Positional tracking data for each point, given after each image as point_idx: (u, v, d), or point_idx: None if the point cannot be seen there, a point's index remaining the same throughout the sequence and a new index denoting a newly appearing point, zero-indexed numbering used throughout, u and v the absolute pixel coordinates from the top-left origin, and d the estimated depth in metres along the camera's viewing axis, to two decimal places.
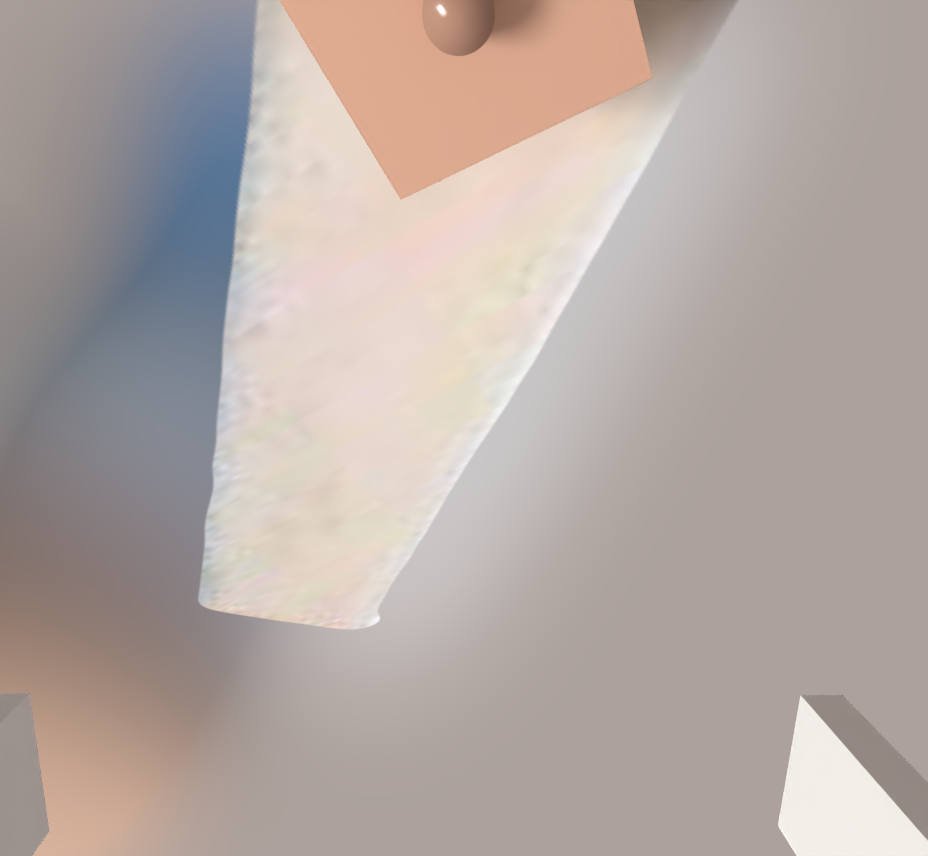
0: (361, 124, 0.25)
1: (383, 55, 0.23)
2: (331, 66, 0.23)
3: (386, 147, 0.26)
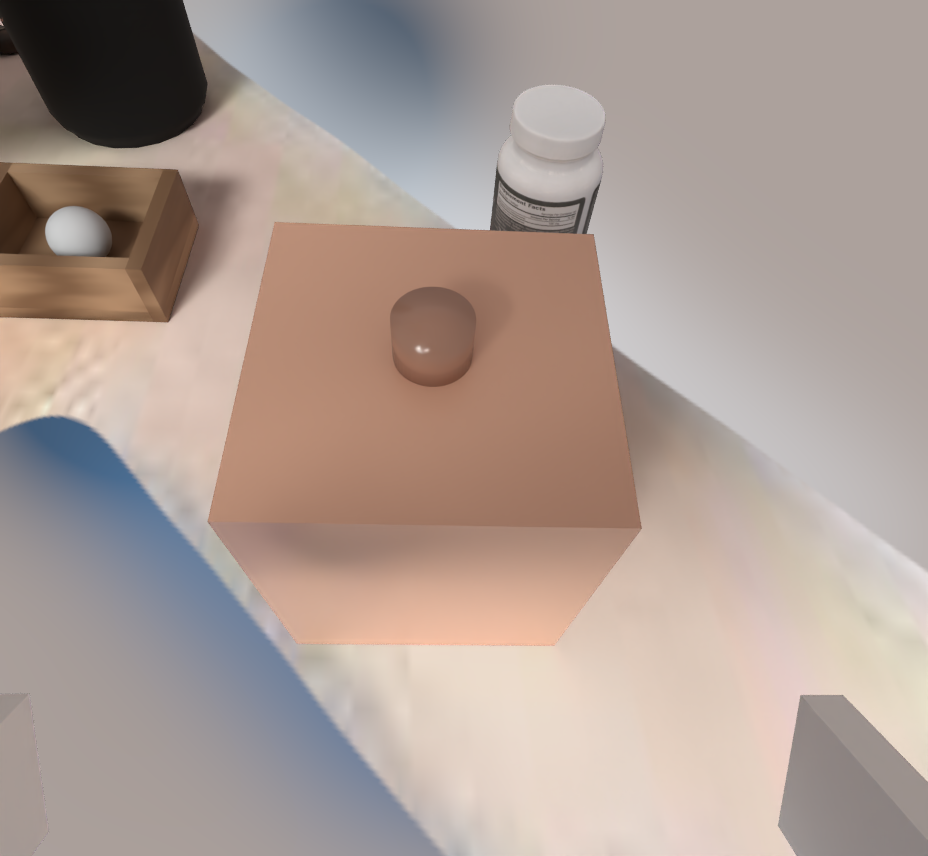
0: (508, 518, 0.16)
1: (441, 447, 0.17)
2: (419, 511, 0.16)
3: (553, 505, 0.17)
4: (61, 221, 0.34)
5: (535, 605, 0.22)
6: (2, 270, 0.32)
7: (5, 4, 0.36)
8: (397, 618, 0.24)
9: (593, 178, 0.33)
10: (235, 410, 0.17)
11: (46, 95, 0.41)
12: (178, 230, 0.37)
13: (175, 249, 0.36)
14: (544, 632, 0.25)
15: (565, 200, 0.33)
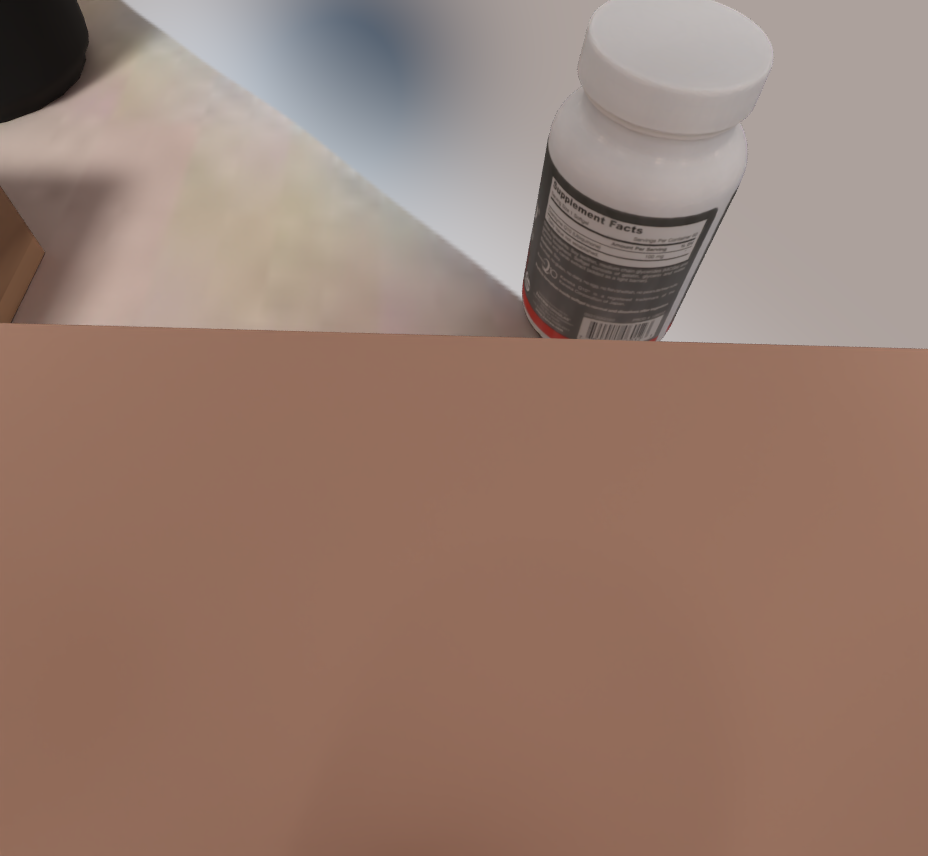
0: None
1: None
2: None
3: None
4: None
5: None
6: None
7: None
8: None
9: (736, 171, 0.17)
10: None
11: None
12: None
13: None
14: None
15: (683, 214, 0.17)
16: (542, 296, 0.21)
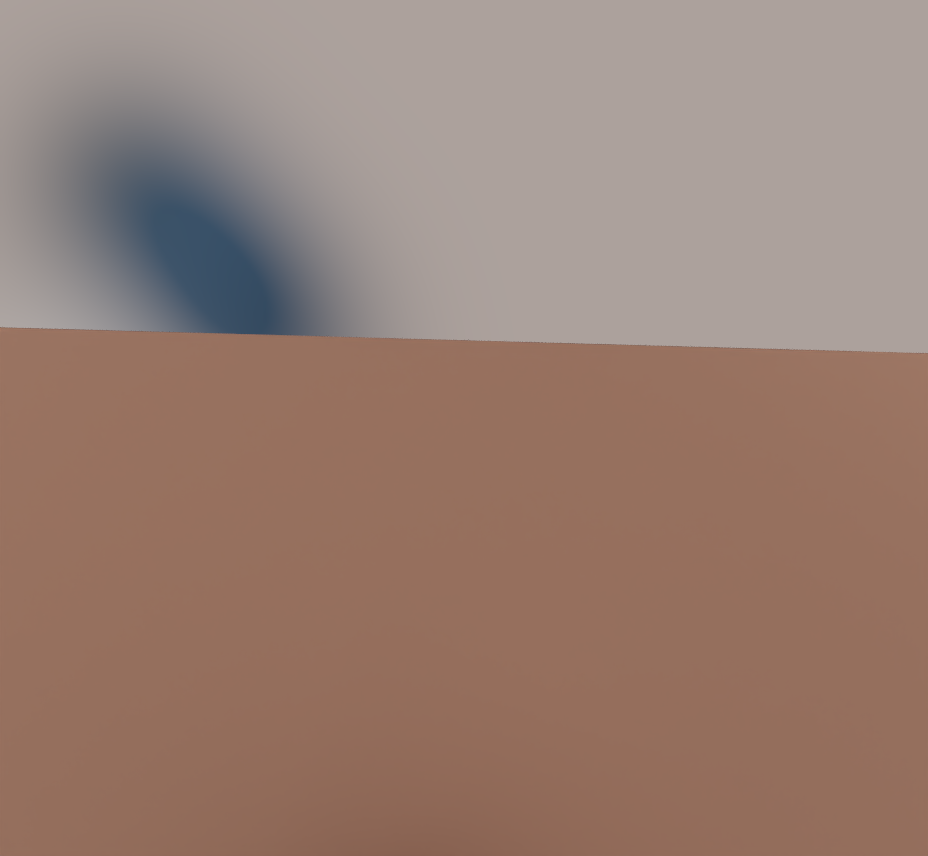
0: None
1: None
2: None
3: None
4: None
5: None
6: None
7: None
8: None
9: None
10: None
11: None
12: None
13: None
14: None
15: None
16: None
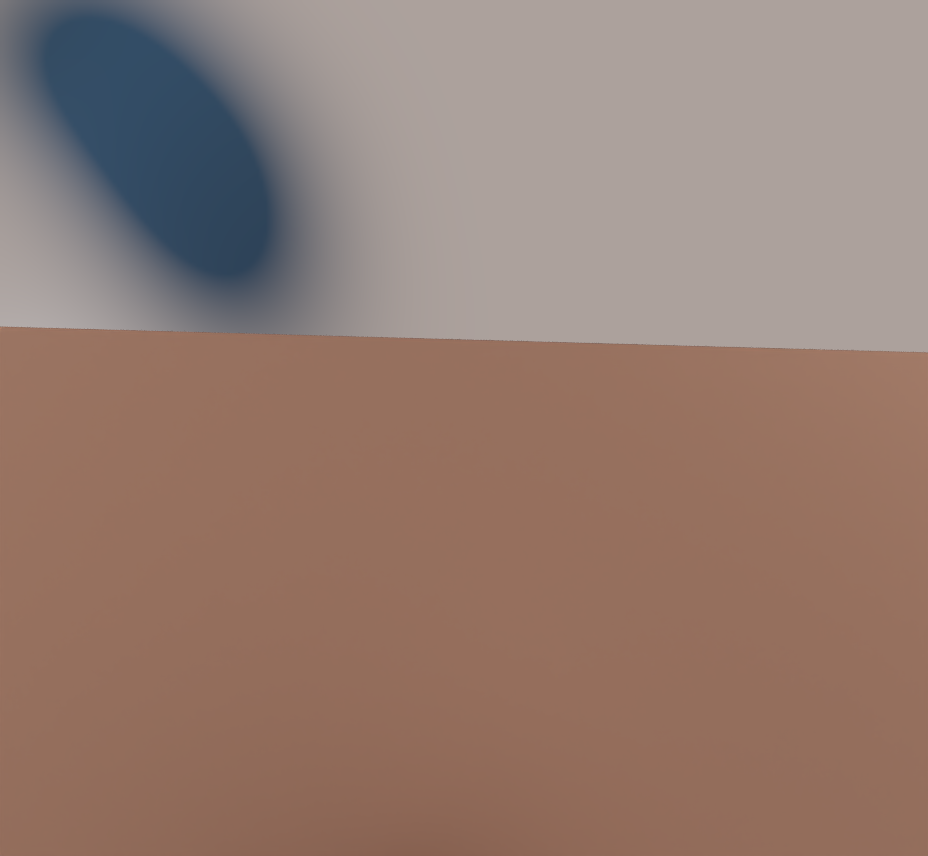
0: None
1: None
2: None
3: None
4: None
5: None
6: None
7: None
8: None
9: None
10: None
11: None
12: None
13: None
14: None
15: None
16: None
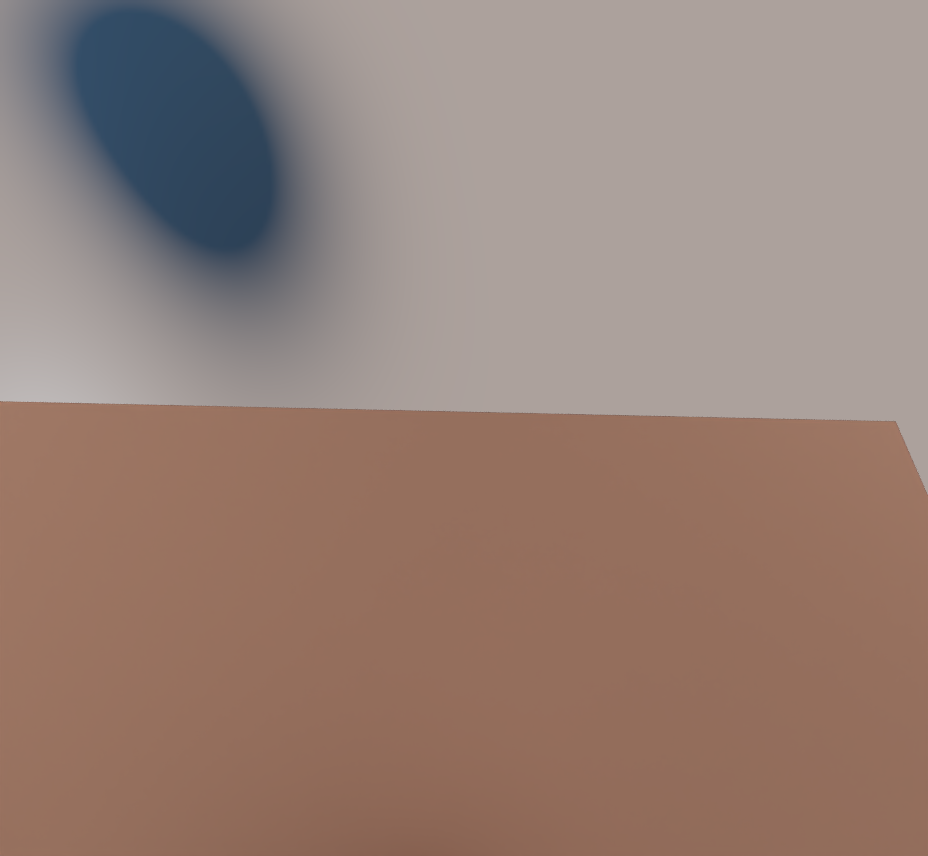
0: None
1: None
2: None
3: None
4: None
5: None
6: None
7: None
8: None
9: None
10: None
11: None
12: None
13: None
14: None
15: None
16: None
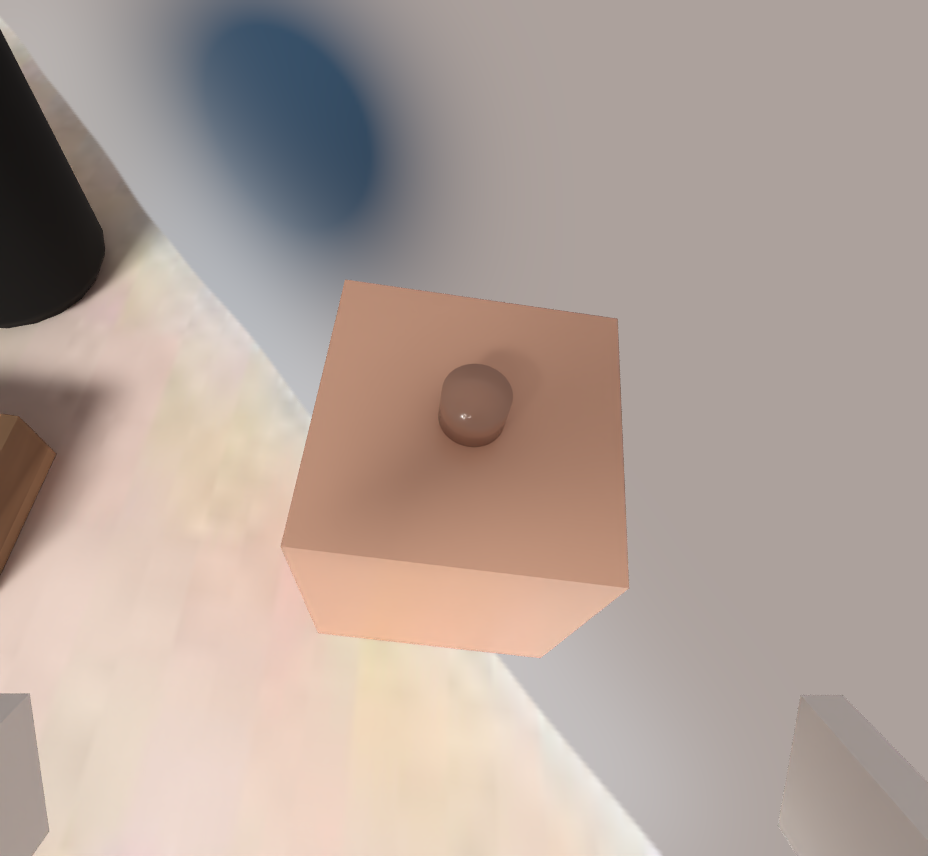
0: (522, 568, 0.20)
1: (473, 501, 0.21)
2: (451, 554, 0.20)
3: (560, 560, 0.20)
4: None
5: (531, 628, 0.26)
6: None
7: None
8: (410, 624, 0.27)
9: None
10: (306, 451, 0.21)
11: None
12: (15, 485, 0.31)
13: (7, 511, 0.30)
14: (534, 648, 0.29)
15: None
16: None
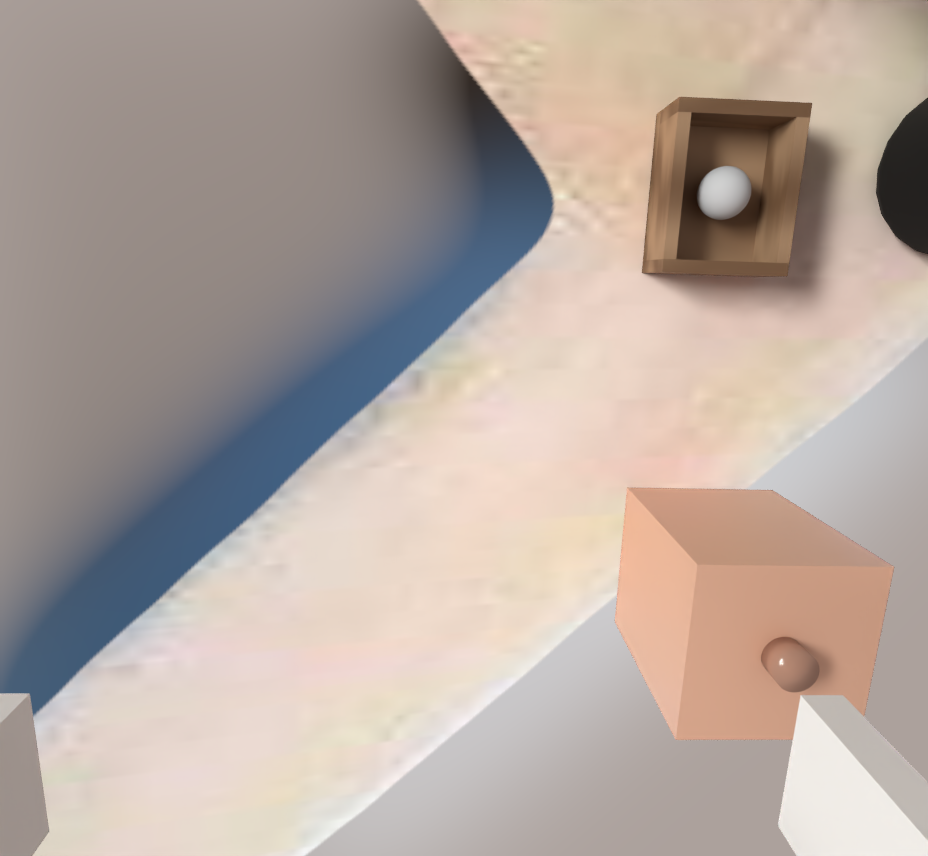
0: (686, 687, 0.36)
1: (725, 660, 0.36)
2: (693, 651, 0.35)
3: (690, 706, 0.36)
4: (726, 187, 0.39)
5: (641, 645, 0.43)
6: (671, 152, 0.38)
7: None
8: (639, 566, 0.44)
9: None
10: (757, 567, 0.34)
11: None
12: None
13: (710, 274, 0.42)
14: (623, 628, 0.47)
15: None
16: None
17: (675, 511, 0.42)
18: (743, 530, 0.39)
